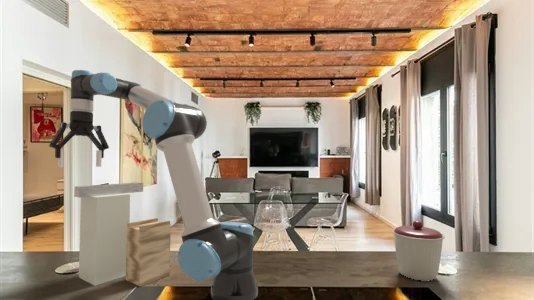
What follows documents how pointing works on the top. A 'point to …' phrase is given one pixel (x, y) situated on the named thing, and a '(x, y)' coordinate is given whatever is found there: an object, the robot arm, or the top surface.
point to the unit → (103, 237)
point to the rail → (107, 189)
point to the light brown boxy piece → (147, 251)
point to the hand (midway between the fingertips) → (80, 167)
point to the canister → (418, 251)
